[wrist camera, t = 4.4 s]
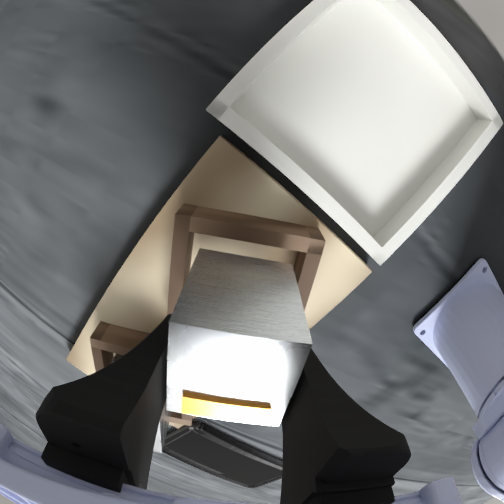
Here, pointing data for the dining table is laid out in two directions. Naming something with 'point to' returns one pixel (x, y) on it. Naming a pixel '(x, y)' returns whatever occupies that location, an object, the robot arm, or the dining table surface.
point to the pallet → (218, 239)
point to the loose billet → (236, 340)
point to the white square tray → (363, 115)
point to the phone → (222, 455)
